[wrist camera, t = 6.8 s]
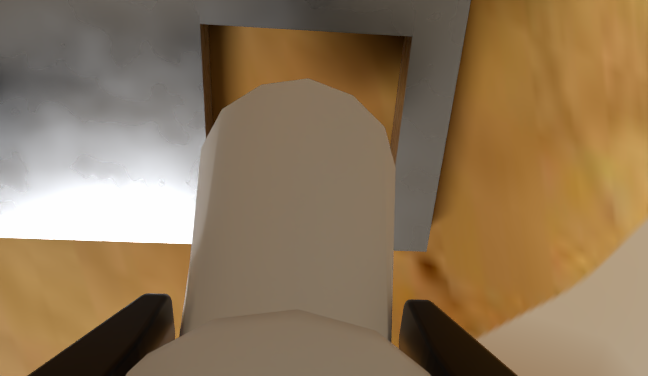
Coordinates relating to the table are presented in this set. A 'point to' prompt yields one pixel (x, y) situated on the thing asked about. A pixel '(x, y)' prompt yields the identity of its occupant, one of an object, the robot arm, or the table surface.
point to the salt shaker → (290, 243)
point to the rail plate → (182, 108)
